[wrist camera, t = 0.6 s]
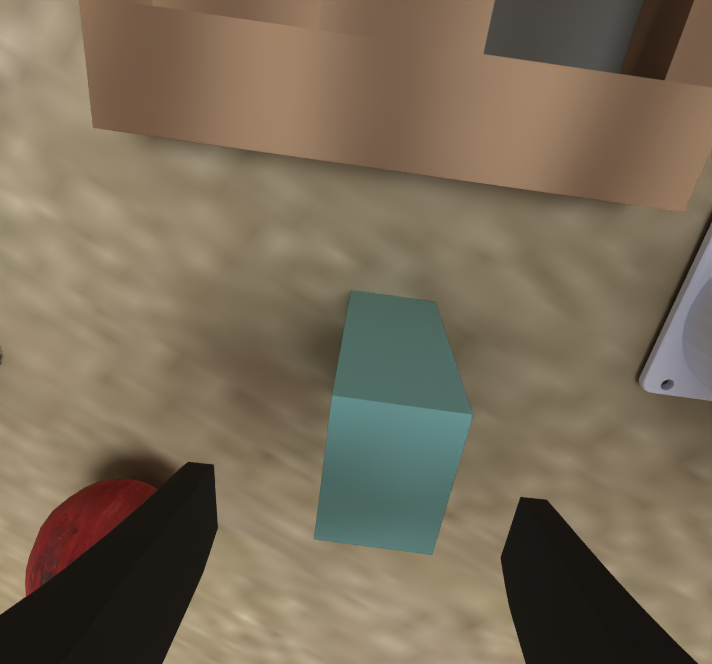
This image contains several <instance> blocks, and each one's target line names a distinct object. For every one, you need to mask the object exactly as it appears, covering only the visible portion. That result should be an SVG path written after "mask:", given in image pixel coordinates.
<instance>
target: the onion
mask: <svg viewBox="0 0 712 664" xmlns="http://www.w3.org/2000/svg"><path fill="white" fill-rule="evenodd" d="M156 490H157V488H155V487H153V486H152V485H150V484H148V483H145V482H141V481H137V480H132V479H118V480H107V481H100V482H97V483H95V484H92V485H90V486H88V487H85V488H83V489H82V490H80V491H79V492H77V493H76V494H74V495H72V496H71V497H69V498H68V499H67V500H66V501H64V502H63V503H62V504H61V505H59V506H58V507H57V508H56V509H54V510H53V511H52V513H51V514H50V515H49V517H48V518H47V520H46V521H45V522H44V524H43V525H42V526H41V528H40V531H39V533H38V536H37V538H36V541H35V543H34V546H33V548H32V551H31V553H30V556H29V560H28V564H27V568H26V579H25V587H26V596H28V595H29V594H30V593H32V592H33V591H35V590H36V589H37V588H39V587H40V586H41V585H43V584H44V583H45V582H47V581H48V580H49V579H51V578H52V577H53V576H55V575H56V574H57V573H59V572H60V571H61V570H63V569H64V568H65V567H67V566H68V565H69V564H70V563H72V562H73V561H74V560H75V559H76V558H78V557H79V556H80V555H81V554H83V553H84V552H85V551H86V550H88V549H89V548H90V547H91V546H93V545H94V544H95V543H96V542H98V541H99V540H100V539H101V538H103V537H104V536H105V535H106V534H107V533H109V532H110V531H111V530H112V529H113V528H114V527H116V526H117V525H118V524H119V523H120V522H121V521H122V520H124V519H125V518H126V517H127V516H128V515H129V514H131V513H132V512H133V511H134V510H135V509H136V508H137V507H139V506H140V505H141V504H142V503H143V502H144V501H145V500H146V499H147V498H149V497H150V496H151V495H152V494H153V493H154V492H155V491H156Z"/></svg>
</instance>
